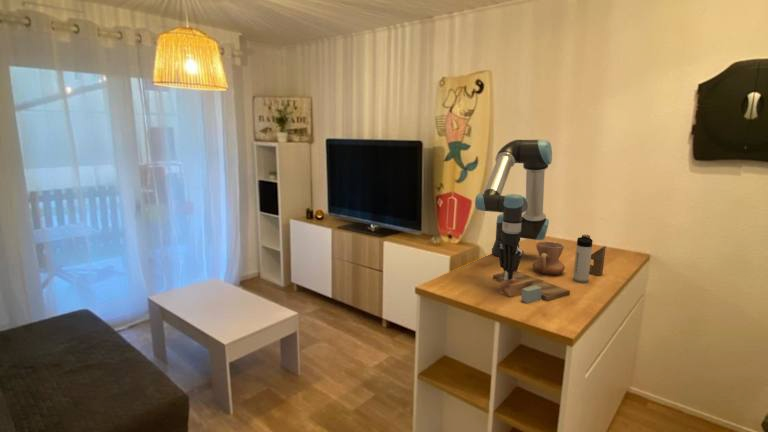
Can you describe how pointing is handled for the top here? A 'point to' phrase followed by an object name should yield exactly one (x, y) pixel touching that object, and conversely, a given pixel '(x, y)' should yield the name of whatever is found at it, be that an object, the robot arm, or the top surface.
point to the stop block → (531, 294)
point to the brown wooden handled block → (513, 286)
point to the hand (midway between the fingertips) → (507, 285)
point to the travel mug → (582, 259)
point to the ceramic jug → (549, 258)
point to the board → (547, 289)
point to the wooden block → (597, 260)
